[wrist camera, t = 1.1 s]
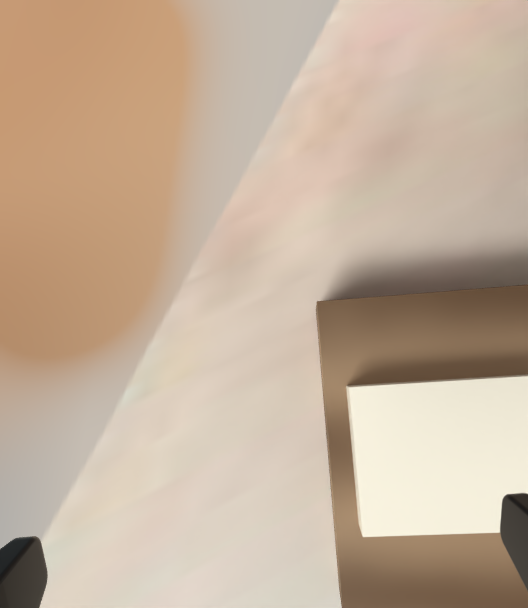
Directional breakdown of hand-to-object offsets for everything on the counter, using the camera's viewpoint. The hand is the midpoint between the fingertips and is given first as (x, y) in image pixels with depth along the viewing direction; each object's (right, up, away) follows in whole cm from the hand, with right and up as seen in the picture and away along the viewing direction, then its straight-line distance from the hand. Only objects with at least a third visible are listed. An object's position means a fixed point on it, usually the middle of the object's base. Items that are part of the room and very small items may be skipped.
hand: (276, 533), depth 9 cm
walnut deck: (+9, -2, +14) cm, 17 cm away
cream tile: (+8, -2, +11) cm, 14 cm away
